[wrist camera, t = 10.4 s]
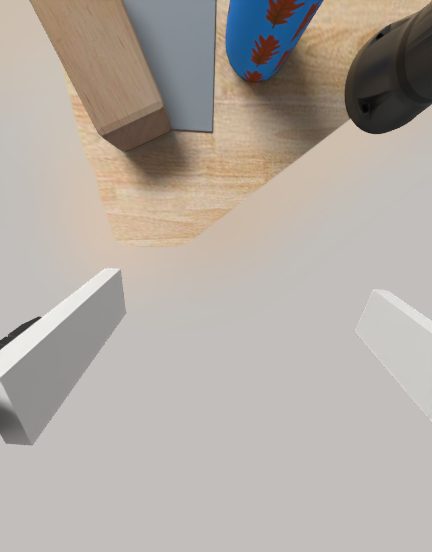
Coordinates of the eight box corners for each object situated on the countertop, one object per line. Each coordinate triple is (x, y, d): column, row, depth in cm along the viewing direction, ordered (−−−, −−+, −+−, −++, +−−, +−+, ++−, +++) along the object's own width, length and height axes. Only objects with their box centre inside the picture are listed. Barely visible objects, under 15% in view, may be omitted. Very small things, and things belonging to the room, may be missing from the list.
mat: (216, -31, 32) (216, -34, 32) (212, 132, 39) (212, 131, 38) (89, -49, 30) (88, -52, 30) (108, 124, 37) (107, 124, 37)
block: (166, 107, 28) (77, -113, 22) (99, 138, 29) (-8, -68, 22) (174, 131, 38) (113, -18, 31) (123, 154, 38) (52, 13, 32)
